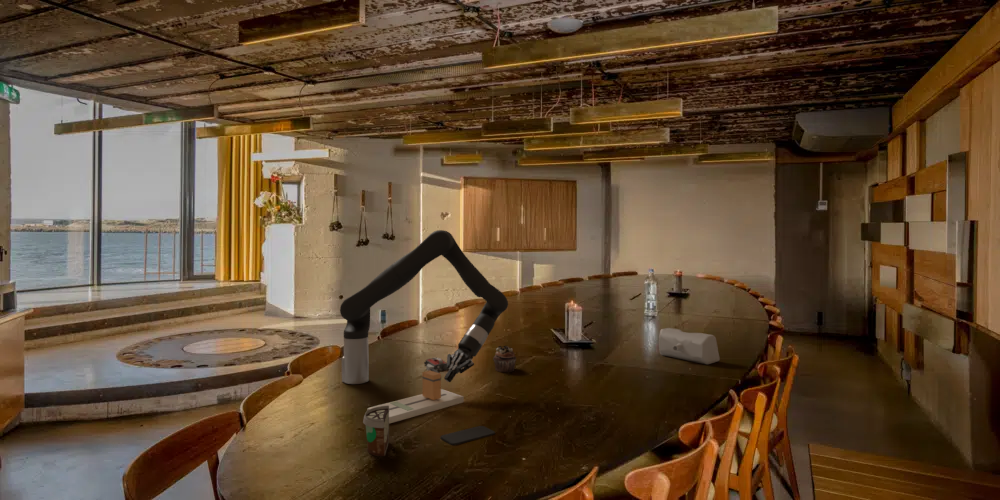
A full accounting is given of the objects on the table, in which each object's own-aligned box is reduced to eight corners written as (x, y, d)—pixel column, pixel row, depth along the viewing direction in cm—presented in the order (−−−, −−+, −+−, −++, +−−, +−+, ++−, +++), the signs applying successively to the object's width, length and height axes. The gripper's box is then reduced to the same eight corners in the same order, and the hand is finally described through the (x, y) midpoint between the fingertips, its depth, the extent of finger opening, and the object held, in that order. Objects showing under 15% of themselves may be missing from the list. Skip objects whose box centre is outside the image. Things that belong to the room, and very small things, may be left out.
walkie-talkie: (419, 366, 239) (436, 377, 221) (419, 356, 238) (436, 366, 221) (438, 363, 243) (456, 374, 225) (438, 353, 243) (456, 363, 225)
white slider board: (441, 394, 197) (441, 388, 197) (463, 402, 188) (463, 396, 188) (367, 414, 176) (367, 407, 176) (388, 423, 167) (388, 417, 167)
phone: (496, 432, 160) (452, 444, 151) (496, 435, 160) (452, 447, 151) (481, 425, 165) (438, 436, 156) (482, 427, 166) (438, 438, 156)
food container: (367, 440, 154) (366, 405, 154) (389, 440, 155) (389, 404, 154) (359, 459, 142) (359, 420, 142) (383, 458, 142) (383, 420, 142)
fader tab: (430, 393, 190) (430, 370, 189) (441, 397, 185) (441, 373, 185) (422, 396, 187) (422, 372, 187) (433, 400, 183) (433, 375, 183)
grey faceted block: (651, 357, 254) (651, 330, 254) (671, 352, 264) (671, 326, 264) (700, 367, 235) (701, 338, 234) (720, 362, 245) (720, 334, 245)
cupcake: (520, 370, 230) (520, 346, 230) (501, 374, 225) (501, 349, 224) (507, 365, 238) (507, 342, 238) (488, 369, 232) (488, 345, 232)
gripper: (455, 331, 202) (429, 370, 193) (480, 336, 192) (453, 378, 184) (466, 343, 205) (441, 382, 197) (491, 349, 196) (465, 390, 188)
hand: (446, 380), depth 191 cm, fingers closed
